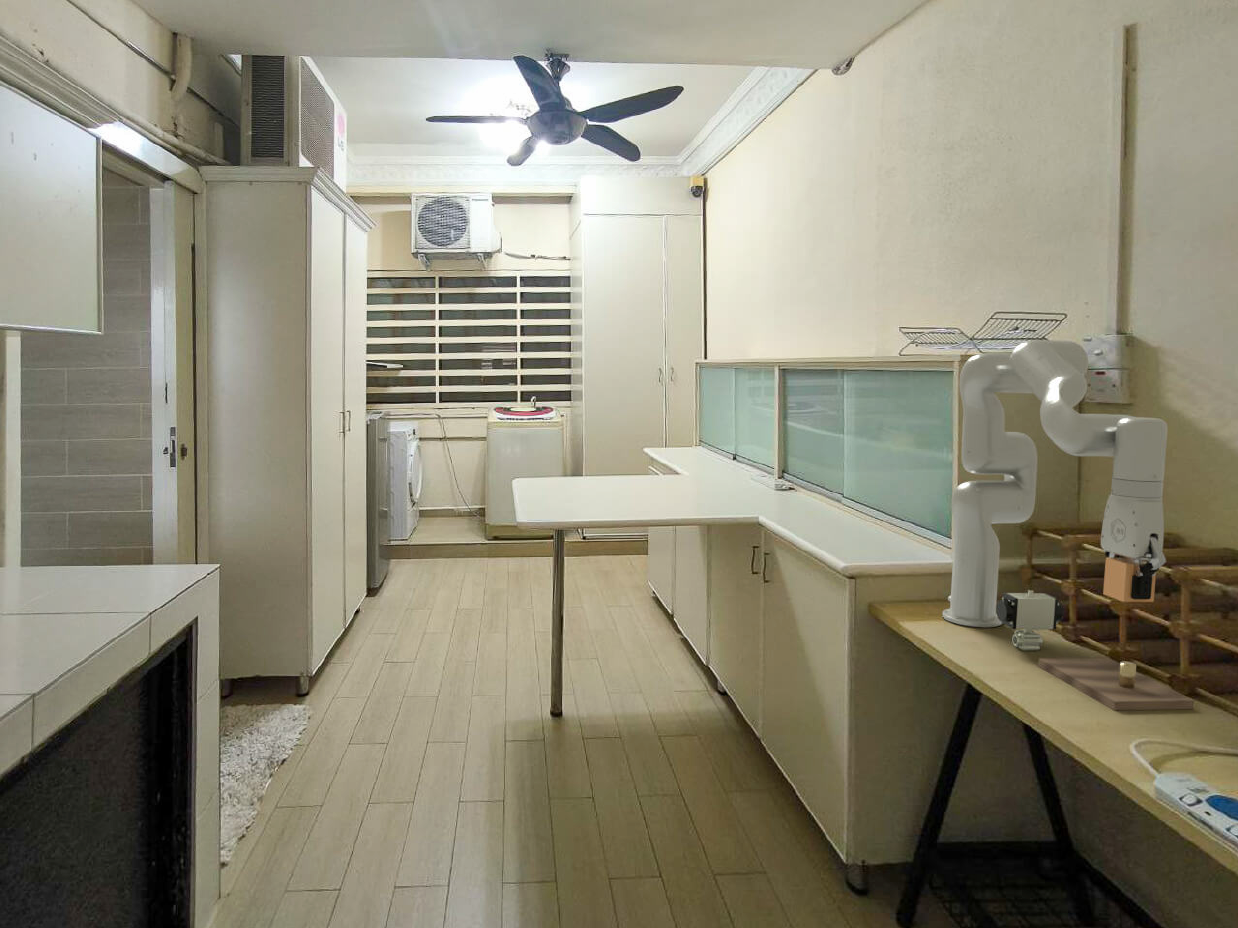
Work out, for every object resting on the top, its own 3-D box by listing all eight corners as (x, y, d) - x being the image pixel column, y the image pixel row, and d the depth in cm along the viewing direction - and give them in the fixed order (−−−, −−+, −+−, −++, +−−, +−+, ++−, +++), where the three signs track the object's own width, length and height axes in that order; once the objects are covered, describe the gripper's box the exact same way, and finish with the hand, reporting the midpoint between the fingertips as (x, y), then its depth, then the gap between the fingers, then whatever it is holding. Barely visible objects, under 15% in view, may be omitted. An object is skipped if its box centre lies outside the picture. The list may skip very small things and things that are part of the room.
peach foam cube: (1103, 593, 153) (1105, 557, 152) (1132, 593, 154) (1135, 557, 153) (1123, 601, 148) (1126, 564, 147) (1153, 601, 148) (1156, 564, 148)
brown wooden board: (1038, 666, 166) (1040, 637, 166) (1107, 665, 168) (1109, 637, 167) (1114, 710, 144) (1117, 678, 144) (1193, 708, 146) (1196, 676, 145)
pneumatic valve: (1061, 652, 175) (1065, 593, 174) (1004, 652, 174) (1008, 593, 173) (1046, 643, 181) (1050, 586, 179) (991, 643, 180) (994, 586, 179)
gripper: (1084, 483, 157) (1077, 582, 159) (1150, 496, 140) (1141, 607, 142) (1124, 484, 158) (1116, 582, 159) (1194, 497, 141) (1185, 607, 142)
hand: (1128, 593), depth 151 cm, fingers closed on peach foam cube, 5 cm apart
